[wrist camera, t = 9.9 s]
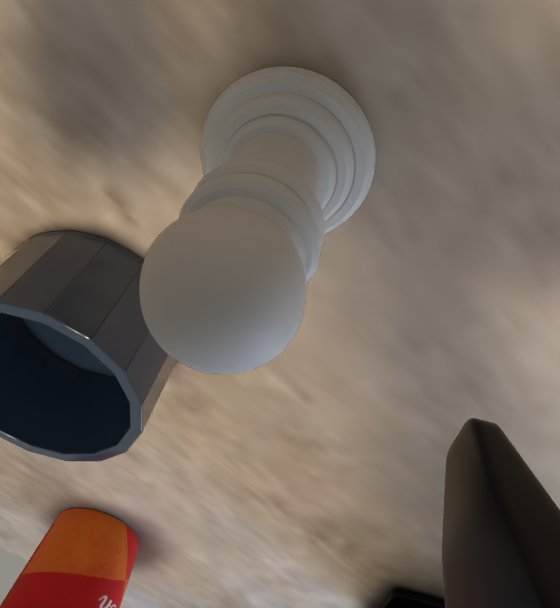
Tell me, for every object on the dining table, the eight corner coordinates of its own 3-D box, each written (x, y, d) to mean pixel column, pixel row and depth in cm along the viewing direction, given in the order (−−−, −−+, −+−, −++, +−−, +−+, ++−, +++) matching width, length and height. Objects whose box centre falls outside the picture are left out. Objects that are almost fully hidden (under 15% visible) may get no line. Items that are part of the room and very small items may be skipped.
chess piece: (224, 233, 18) (118, 436, 11) (188, 72, 15) (9, 210, 8) (378, 227, 17) (369, 449, 10) (373, 51, 14) (354, 191, 7)
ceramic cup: (190, 258, 19) (142, 338, 16) (179, 395, 24) (141, 481, 20) (-9, 209, 19) (-101, 277, 16) (20, 354, 24) (-46, 432, 20)
